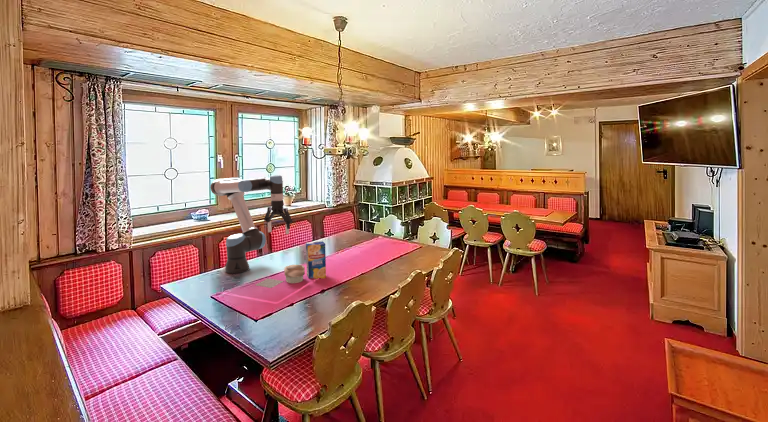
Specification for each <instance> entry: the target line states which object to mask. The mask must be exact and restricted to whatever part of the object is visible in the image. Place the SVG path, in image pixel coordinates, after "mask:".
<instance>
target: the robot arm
mask: <svg viewBox="0 0 768 422" xmlns="http://www.w3.org/2000/svg"><path fill="white" fill-rule="evenodd" d="M211 182H212V183H211V184H210V187H209V188H210V190H211V193H212V194H213V195H215V196H220V197H221V196H226V197H227V200H229V201H230V203H231V204H232V207H233V209H234V212H235V215H236V216H237V219H238V222H239V225H240V227H241V231H242V233H234V234H231V235H230V236H227V237H226V241H225V247H226V259H227V260H226V263H225V267H224V272H226V273H228V274H241V273H245V272H247V271H249V270H250V264H249V262H248V259H247V255H246V254H247V253H250V252H254V251H257V250H260V249H263V248H264V247H265V245H266V242H267V241H266V240H267V238H266V235H265V233H264V232H263V231H260V230H259V227H256V225H255V223H254V220H253V218H252V215H251V213H250V210H249V208H248V207H249V206H248V205H247V202H246V199H245V197H244V196H245V193H248V192H249V193H250V192H257V191H264V190H267V191H268V190H269V191H270V200H271V201H270V205H271V206H268V207H267V211H266V212H265V213H266V214H265V216H264V219H263V221H265V222H266V227H267V233H272V221H271V220H272V219H273V218H274V216H276V215H277V216H280V217H281V219H282V220H283V221H284V222H285V223H284V224H285V227H284V228H285V235H288V234H290V229H291V224H293V220H292V219H293V218H291V215H290V212H289V209H288V207H285V208H284V186H283V185H284V180H283V175H280V174H279V175H278V174H272V175H270V176H269V177H265V176H264V177H262V176H261V177H259V178H258V177H257V178H248V179H246V178H245V179H242V178H240V177H229V178H228V177H227V178H218V179H214V180H213V181H211Z"/></svg>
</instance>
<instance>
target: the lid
mask: <svg viewBox="0 0 768 422" xmlns="http://www.w3.org/2000/svg"><path fill="white" fill-rule="evenodd" d="M283 270H284V273H283V274H284V276H285V278H286V277H300V276H303V277H304V275H305V274H306V273H305V272H306V271H305V266H304V265H302V264H290V265H287V266H285V267H284V268H283Z"/></svg>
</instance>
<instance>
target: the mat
mask: <svg viewBox="0 0 768 422" xmlns="http://www.w3.org/2000/svg"><path fill="white" fill-rule="evenodd" d="M283 282H284V280H279V279H275V278H274V279H273V278H266V279H263V280H262V281H260V282H258V283H256V284H255V286H257V287H264V288H269V289H270V288H271V289H272V288H274V287H277V285H280V284H282V283H283Z"/></svg>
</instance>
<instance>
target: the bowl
mask: <svg viewBox="0 0 768 422" xmlns="http://www.w3.org/2000/svg"><path fill="white" fill-rule="evenodd" d="M285 281H286V282H287V283H288V284H298V283H301V282H303V281H304V275H303V276H300V277H286V276H285Z"/></svg>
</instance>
